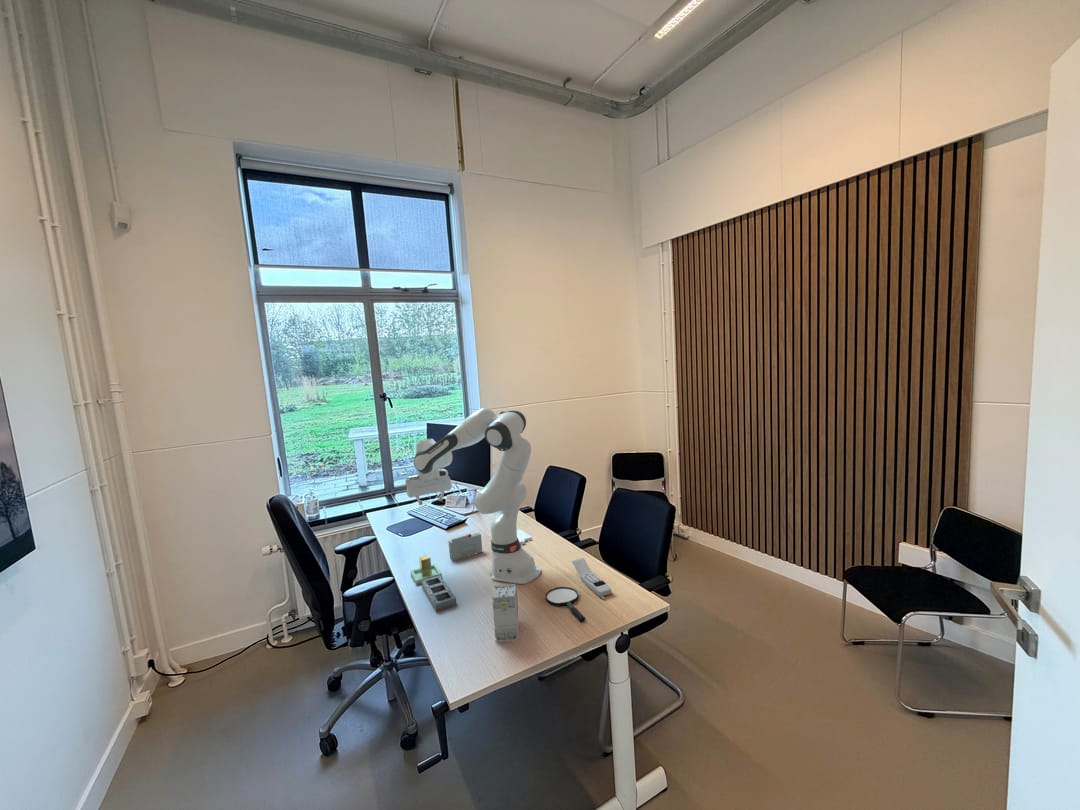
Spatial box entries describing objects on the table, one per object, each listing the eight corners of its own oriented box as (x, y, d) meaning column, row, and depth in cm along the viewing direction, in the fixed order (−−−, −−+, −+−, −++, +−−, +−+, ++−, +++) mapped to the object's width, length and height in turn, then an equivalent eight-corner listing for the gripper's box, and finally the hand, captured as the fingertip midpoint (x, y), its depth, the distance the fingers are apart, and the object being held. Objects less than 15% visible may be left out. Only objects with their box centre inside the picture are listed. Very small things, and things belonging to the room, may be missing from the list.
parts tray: (442, 577, 187) (441, 573, 187) (416, 585, 182) (416, 580, 182) (435, 568, 197) (435, 563, 197) (411, 574, 192) (410, 570, 192)
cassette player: (480, 550, 214) (478, 530, 213) (482, 551, 211) (480, 532, 210) (450, 559, 205) (448, 539, 205) (452, 561, 203) (450, 540, 202)
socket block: (456, 605, 164) (456, 597, 164) (435, 612, 160) (435, 604, 160) (440, 581, 183) (440, 575, 183) (422, 587, 180) (421, 580, 179)
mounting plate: (496, 537, 229) (496, 534, 229) (518, 531, 235) (518, 528, 235) (511, 548, 213) (511, 545, 213) (534, 542, 220) (534, 538, 220)
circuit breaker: (518, 615, 155) (516, 575, 154) (518, 639, 141) (514, 596, 140) (498, 616, 155) (495, 576, 154) (495, 641, 141) (491, 598, 139)
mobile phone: (583, 557, 185) (614, 582, 162) (584, 570, 186) (615, 597, 163) (570, 560, 183) (600, 586, 160) (571, 574, 184) (602, 601, 161)
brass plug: (431, 575, 189) (430, 557, 188) (422, 578, 187) (421, 560, 186) (429, 571, 192) (428, 554, 191) (420, 574, 190) (419, 557, 190)
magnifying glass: (566, 628, 146) (565, 622, 146) (541, 596, 168) (540, 590, 168) (598, 618, 150) (598, 612, 150) (570, 588, 173) (569, 583, 173)
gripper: (406, 478, 192) (409, 509, 193) (451, 470, 201) (453, 499, 202) (403, 476, 197) (406, 505, 198) (447, 468, 207) (449, 496, 208)
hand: (430, 502), depth 200 cm, fingers open, 8 cm apart
